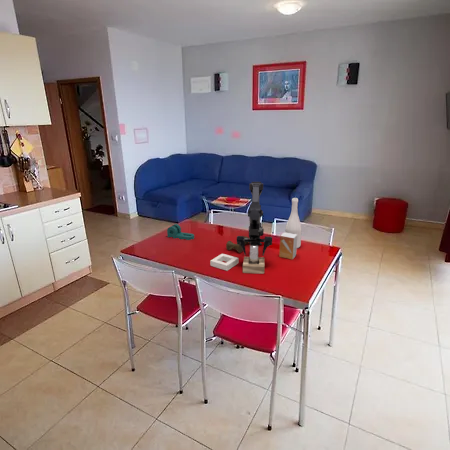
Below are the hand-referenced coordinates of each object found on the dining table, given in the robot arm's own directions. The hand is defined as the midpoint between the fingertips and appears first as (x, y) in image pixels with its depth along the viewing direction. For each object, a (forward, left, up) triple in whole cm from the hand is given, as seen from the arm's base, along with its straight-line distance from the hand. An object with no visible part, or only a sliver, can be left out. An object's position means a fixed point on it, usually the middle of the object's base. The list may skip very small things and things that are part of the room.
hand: (253, 255), depth 164 cm
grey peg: (0, 0, -8) cm, 8 cm away
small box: (-7, +24, -8) cm, 26 cm away
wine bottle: (-19, +34, -8) cm, 40 cm away
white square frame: (-10, -13, -8) cm, 18 cm away
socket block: (0, 0, -8) cm, 8 cm away
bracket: (-59, -27, -8) cm, 66 cm away
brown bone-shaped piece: (-28, +2, -8) cm, 29 cm away
